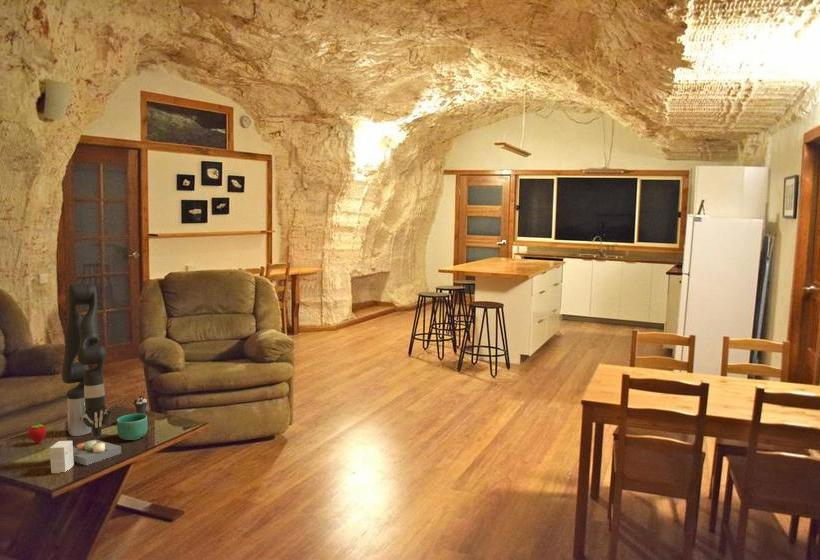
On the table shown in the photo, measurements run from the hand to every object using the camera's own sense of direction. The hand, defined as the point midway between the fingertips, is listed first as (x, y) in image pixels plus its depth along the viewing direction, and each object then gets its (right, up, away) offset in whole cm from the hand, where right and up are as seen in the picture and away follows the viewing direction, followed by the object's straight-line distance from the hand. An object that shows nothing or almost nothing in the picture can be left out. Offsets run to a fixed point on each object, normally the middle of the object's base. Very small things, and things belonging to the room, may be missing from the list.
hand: (97, 435), depth 270 cm
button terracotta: (-9, -9, +7) cm, 15 cm away
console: (-4, -9, +4) cm, 11 cm away
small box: (-9, -11, -11) cm, 18 cm away
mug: (+4, -7, +27) cm, 29 cm away
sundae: (-1, -5, +48) cm, 48 cm away
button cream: (0, -7, +1) cm, 7 cm away
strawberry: (-35, -8, +20) cm, 41 cm away
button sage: (-4, -7, +4) cm, 9 cm away
